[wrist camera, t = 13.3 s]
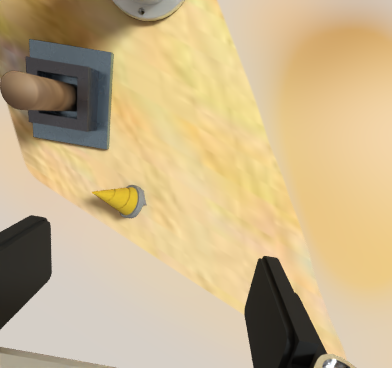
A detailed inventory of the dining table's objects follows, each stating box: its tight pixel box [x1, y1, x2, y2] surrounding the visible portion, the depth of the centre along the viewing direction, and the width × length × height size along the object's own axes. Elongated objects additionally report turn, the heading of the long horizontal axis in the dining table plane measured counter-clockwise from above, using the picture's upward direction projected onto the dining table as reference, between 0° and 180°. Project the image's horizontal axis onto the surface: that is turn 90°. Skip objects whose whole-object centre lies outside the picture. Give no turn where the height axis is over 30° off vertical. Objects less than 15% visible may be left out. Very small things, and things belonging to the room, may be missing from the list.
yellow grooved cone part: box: [92, 185, 146, 218], centre depth 36 cm, size 5×5×10 cm
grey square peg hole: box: [26, 39, 114, 149], centre depth 34 cm, size 14×12×4 cm
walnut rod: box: [0, 71, 77, 111], centre depth 30 cm, size 4×4×10 cm
